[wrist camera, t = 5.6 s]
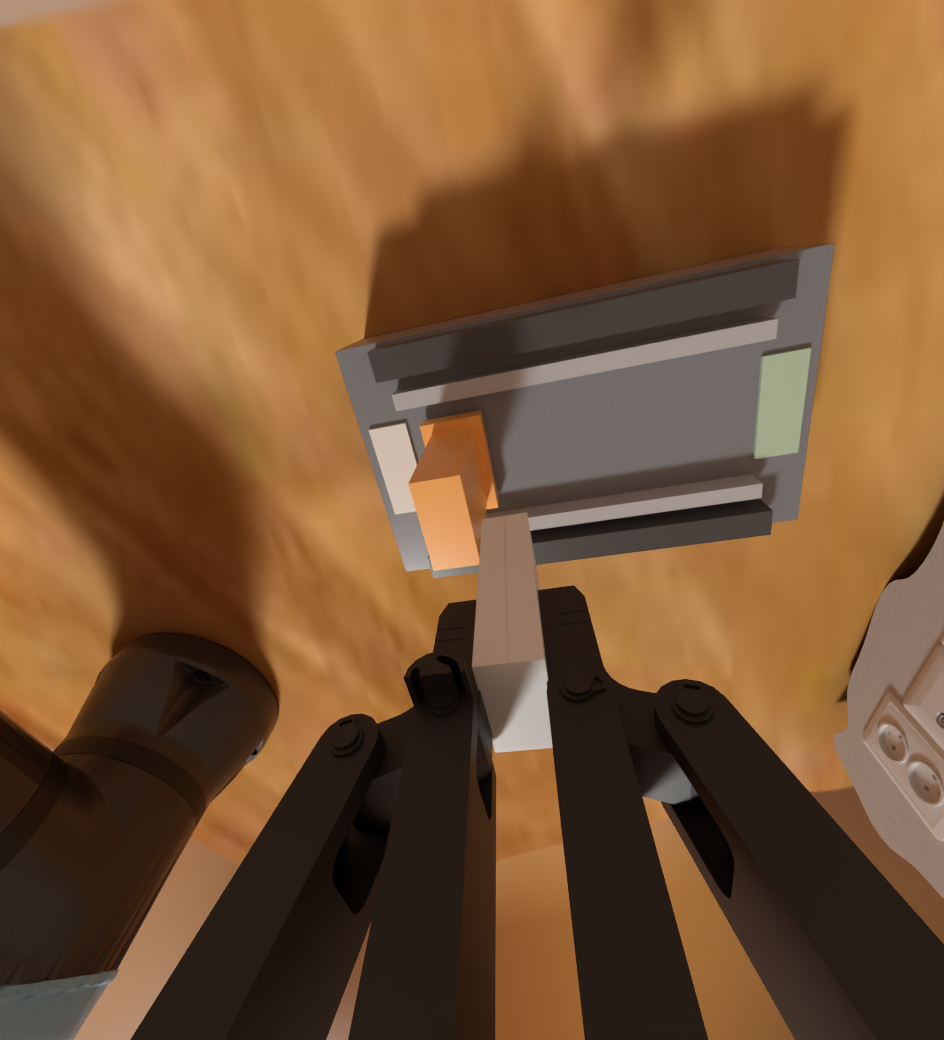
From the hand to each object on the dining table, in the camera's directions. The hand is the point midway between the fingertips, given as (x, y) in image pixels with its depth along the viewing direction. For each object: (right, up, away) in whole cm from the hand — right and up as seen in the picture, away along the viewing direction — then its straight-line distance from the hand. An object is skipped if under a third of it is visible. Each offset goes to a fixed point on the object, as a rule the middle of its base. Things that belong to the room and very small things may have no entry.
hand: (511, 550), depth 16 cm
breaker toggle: (-2, +4, +9) cm, 10 cm away
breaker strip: (+4, +7, +12) cm, 15 cm away
